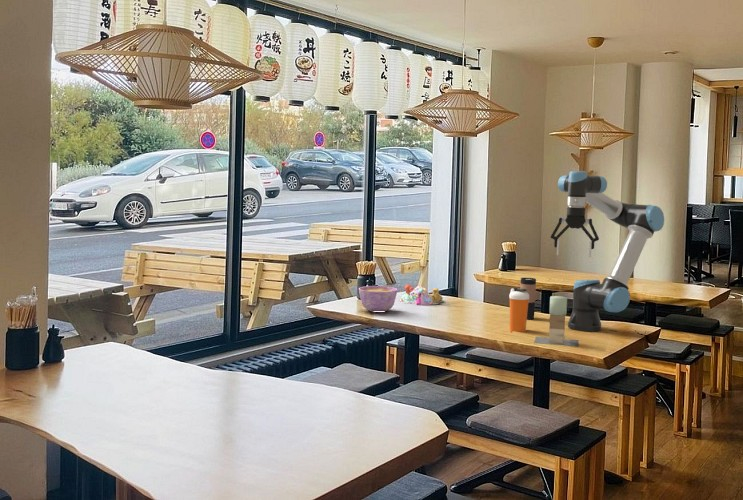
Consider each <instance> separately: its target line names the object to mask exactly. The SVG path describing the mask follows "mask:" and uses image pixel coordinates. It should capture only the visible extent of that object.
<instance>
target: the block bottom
mask: <svg viewBox="0 0 743 500" xmlns="http://www.w3.org/2000/svg"><path fill="white" fill-rule="evenodd" d="M548 330H549V331H548V333H549V334H548V338H549V342H550V343H562V344H563V343H564V339H565V330H566V328H564V330H563V329H550V327H549V329H548Z"/></svg>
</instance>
